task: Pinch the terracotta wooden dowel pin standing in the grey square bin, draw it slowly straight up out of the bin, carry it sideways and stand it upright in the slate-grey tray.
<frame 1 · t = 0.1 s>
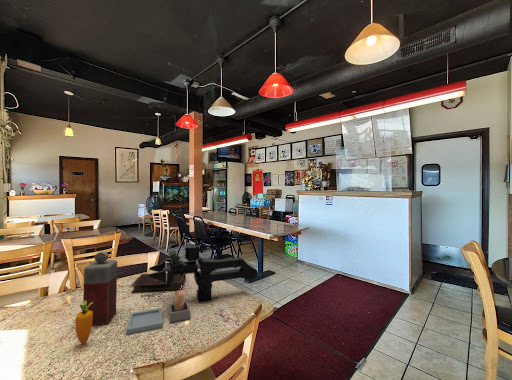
hand: (149, 272, 105), 17 cm above the table, tool horizontal, fingers open, 9 cm apart
dark red canister: (101, 318, 97), on the table
slate tray: (145, 322, 94), on the table
grey square bin: (179, 316, 99), on the table
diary: (160, 286, 131), on the table
dowel pin: (179, 315, 99), resting on grey square bin
carrot: (83, 345, 80), on the table
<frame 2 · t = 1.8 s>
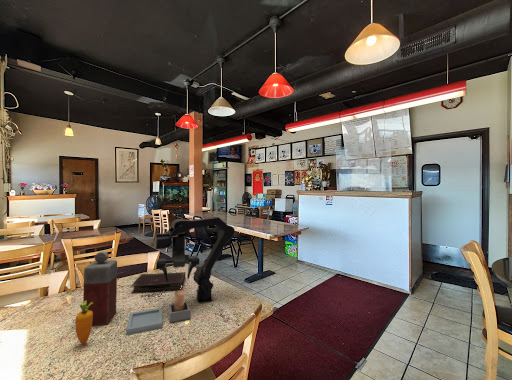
hand: (177, 280, 108), 12 cm above the table, tool pointing down, fingers open, 9 cm apart
nothing on the table moved.
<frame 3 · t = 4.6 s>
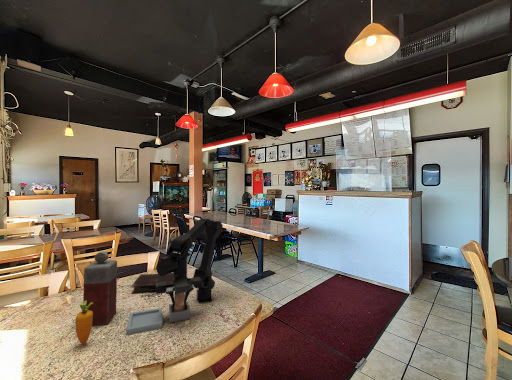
hand: (179, 304, 99), 5 cm above the table, tool pointing down, fingers closed on dowel pin, 4 cm apart
dowel pin: (179, 315, 99), resting on grey square bin, touching gripper
everything else where it was.
when the fingers open (6 cm above the table, at t = 10.3 s): dowel pin stays where it is, resting on slate tray.
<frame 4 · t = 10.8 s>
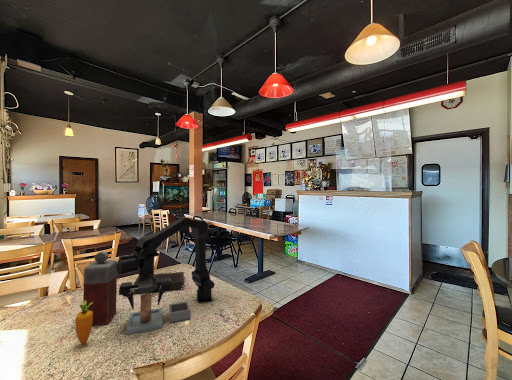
hand: (145, 306, 94), 6 cm above the table, tool pointing down, fingers open, 9 cm apart
dowel pin: (145, 320, 94), point 1 cm above the table, touching slate tray
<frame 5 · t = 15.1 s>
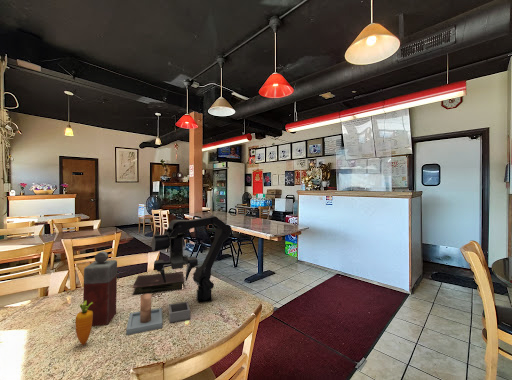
hand: (175, 281, 106), 12 cm above the table, tool pointing down, fingers open, 9 cm apart
at the end: dowel pin 0.0 cm off-centre on the slate tray, point 1.0 cm above the slate tray's base; dowel pin tilted 0°; the gripper is holding nothing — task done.
